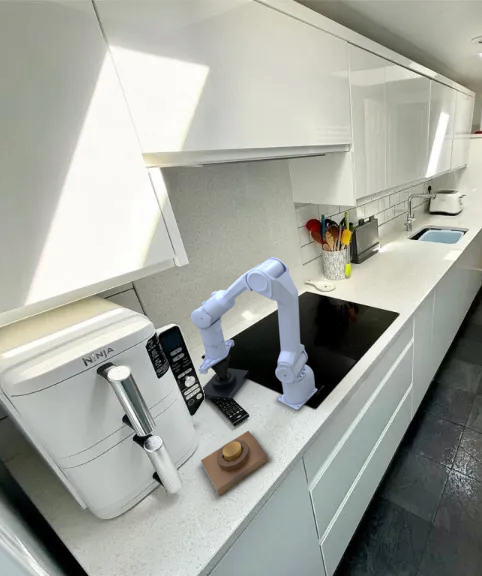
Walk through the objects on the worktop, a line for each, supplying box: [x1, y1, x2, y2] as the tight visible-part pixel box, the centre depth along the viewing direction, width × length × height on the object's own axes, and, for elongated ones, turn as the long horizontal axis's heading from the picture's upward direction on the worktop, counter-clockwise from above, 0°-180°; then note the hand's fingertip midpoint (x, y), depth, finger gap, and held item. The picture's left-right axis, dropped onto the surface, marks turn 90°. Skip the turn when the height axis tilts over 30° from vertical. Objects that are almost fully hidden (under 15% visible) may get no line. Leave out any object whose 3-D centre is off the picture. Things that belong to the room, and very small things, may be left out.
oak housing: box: [200, 430, 269, 497], centre depth 75 cm, size 12×10×4 cm
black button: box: [216, 373, 230, 382], centre depth 98 cm, size 4×4×2 cm
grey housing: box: [202, 367, 250, 403], centre depth 98 cm, size 12×10×4 cm
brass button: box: [223, 441, 242, 461], centre depth 73 cm, size 4×4×2 cm
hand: (223, 376), depth 98 cm, fingers closed, pressing on black button
